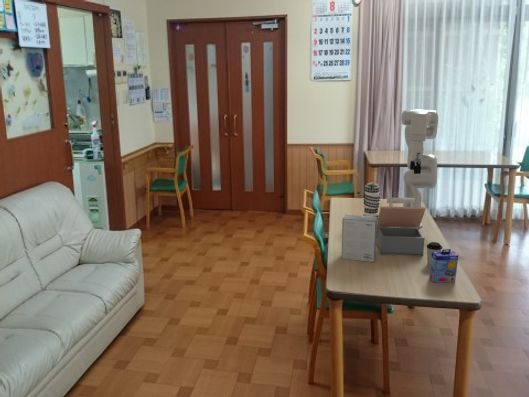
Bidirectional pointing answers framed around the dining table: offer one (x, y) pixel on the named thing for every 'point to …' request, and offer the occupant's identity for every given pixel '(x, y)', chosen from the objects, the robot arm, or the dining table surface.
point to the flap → (400, 214)
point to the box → (400, 241)
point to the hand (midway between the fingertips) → (415, 171)
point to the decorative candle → (371, 200)
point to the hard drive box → (359, 237)
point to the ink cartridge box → (443, 266)
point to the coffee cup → (432, 250)
